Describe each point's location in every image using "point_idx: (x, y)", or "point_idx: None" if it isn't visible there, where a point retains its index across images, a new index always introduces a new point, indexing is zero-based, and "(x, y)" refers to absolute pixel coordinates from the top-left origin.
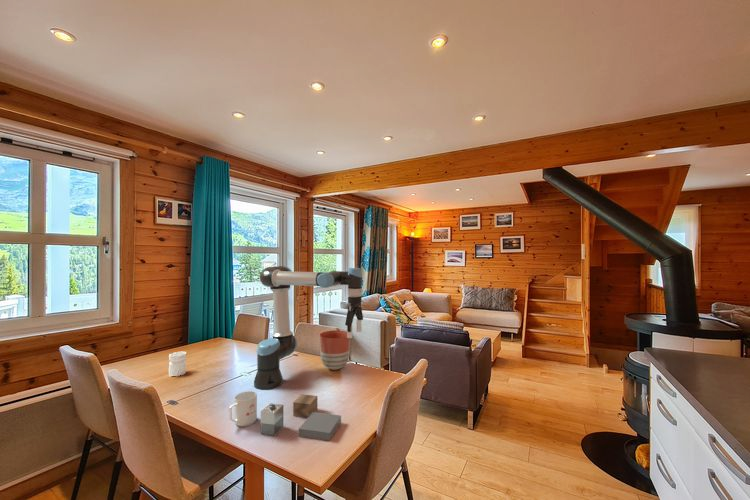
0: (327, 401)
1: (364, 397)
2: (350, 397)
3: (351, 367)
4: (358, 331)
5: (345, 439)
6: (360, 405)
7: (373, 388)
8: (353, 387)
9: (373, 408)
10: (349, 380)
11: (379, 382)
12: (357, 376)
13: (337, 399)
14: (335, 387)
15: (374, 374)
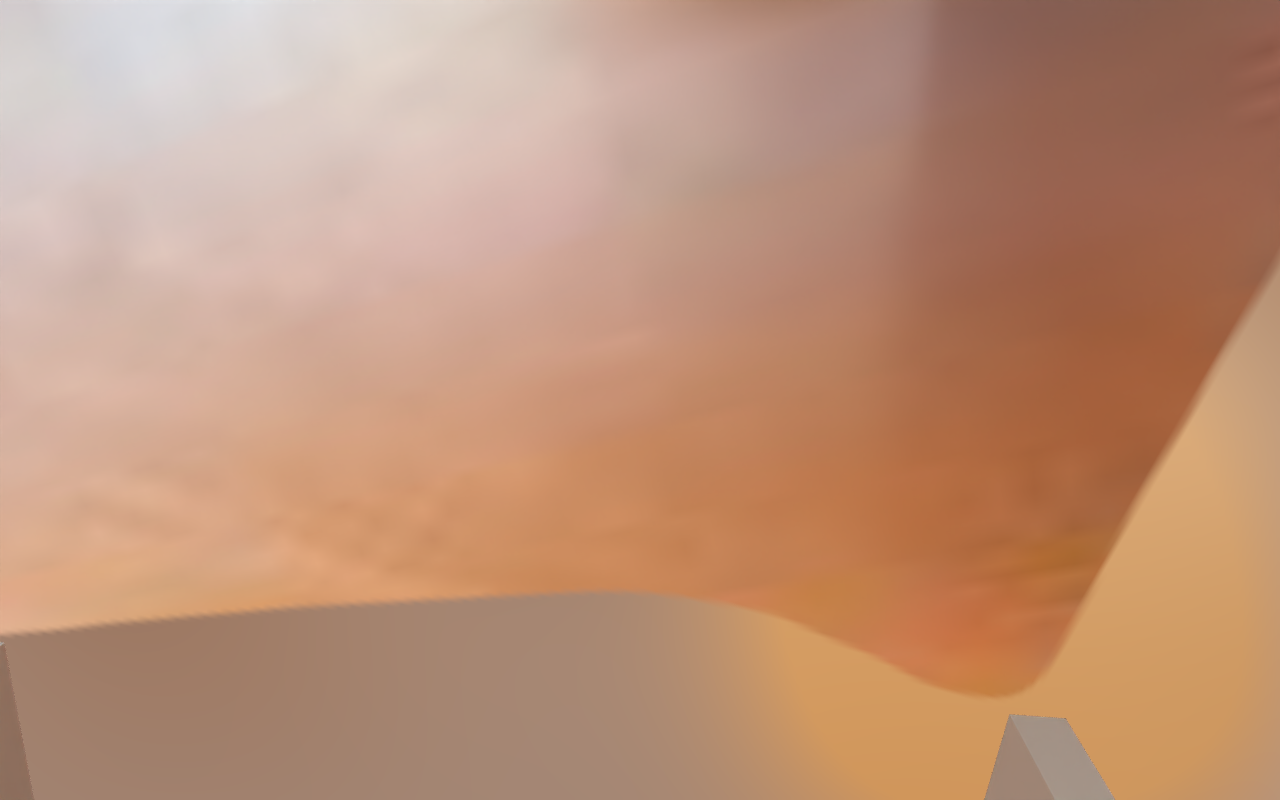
0: (24, 71)
1: (298, 472)
2: (238, 321)
3: (1259, 16)
4: (994, 792)
5: None
6: (109, 477)
7: (552, 514)
8: (514, 276)
9: (108, 607)
10: (724, 151)
11: (736, 544)
12: (886, 225)
13: (127, 182)
14: (444, 23)
15: (984, 436)
